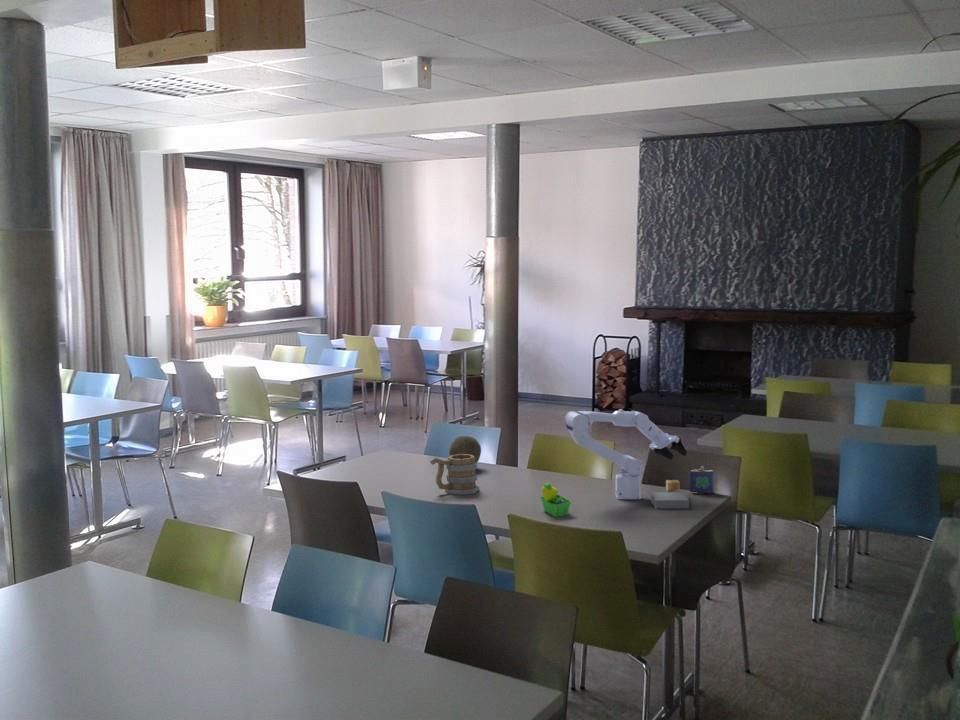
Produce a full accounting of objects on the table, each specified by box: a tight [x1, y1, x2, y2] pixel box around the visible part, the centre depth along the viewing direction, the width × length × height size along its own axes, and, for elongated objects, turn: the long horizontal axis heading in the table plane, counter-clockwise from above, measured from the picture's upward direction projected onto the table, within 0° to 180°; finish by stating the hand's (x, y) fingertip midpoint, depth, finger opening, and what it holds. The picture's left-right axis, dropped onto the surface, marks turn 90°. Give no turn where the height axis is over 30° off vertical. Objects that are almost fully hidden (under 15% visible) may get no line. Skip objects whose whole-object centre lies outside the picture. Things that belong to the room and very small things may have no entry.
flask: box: [689, 465, 715, 495], centre depth 341 cm, size 9×3×11 cm, turn 87°
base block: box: [650, 491, 690, 509], centre depth 326 cm, size 12×12×3 cm
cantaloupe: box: [448, 435, 482, 463], centre depth 392 cm, size 14×14×15 cm
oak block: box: [665, 479, 681, 492], centre depth 337 cm, size 4×4×6 cm
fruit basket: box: [540, 482, 572, 517], centre depth 317 cm, size 11×9×11 cm
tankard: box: [429, 454, 480, 496], centre depth 351 cm, size 20×13×15 cm, turn 115°
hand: (678, 455), depth 341 cm, fingers open, 7 cm apart
